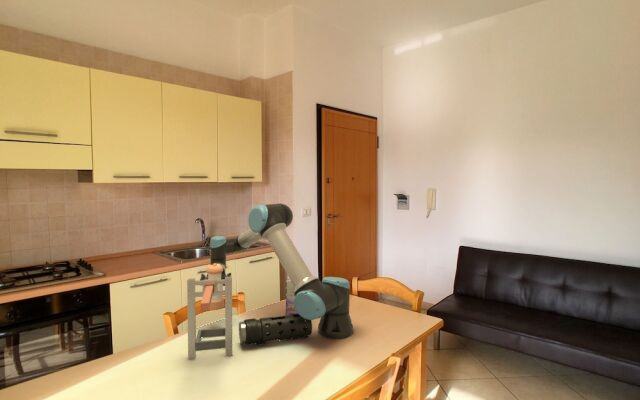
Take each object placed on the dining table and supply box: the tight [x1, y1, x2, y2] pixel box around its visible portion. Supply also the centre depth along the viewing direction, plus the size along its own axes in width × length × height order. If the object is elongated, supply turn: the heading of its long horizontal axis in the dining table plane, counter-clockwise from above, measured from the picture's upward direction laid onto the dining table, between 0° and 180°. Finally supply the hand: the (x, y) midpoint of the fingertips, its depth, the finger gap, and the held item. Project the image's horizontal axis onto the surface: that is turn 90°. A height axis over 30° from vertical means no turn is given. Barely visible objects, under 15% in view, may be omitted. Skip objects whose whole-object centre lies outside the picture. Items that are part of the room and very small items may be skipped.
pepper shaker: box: [205, 263, 225, 311], centre depth 156 cm, size 7×7×19 cm
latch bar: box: [200, 279, 218, 312], centre depth 124 cm, size 22×5×5 cm, turn 12°
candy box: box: [285, 277, 298, 315], centre depth 177 cm, size 14×6×16 cm, turn 77°
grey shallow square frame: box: [196, 327, 225, 351], centre depth 145 cm, size 12×12×3 cm
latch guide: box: [186, 276, 233, 361], centre depth 133 cm, size 2×15×29 cm, turn 102°
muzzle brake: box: [238, 314, 313, 346], centre depth 146 cm, size 10×28×10 cm, turn 110°
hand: (214, 286), depth 151 cm, fingers closed on pepper shaker, 5 cm apart
